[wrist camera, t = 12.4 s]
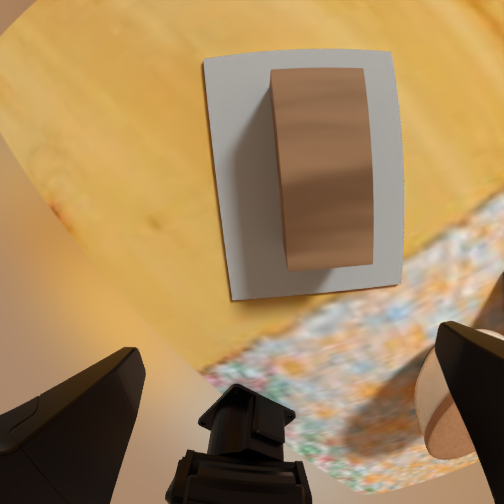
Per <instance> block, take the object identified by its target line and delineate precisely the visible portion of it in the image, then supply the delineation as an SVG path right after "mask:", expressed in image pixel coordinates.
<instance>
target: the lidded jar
mask: <svg viewBox="0 0 504 504" xmlns="http://www.w3.org/2000/svg"><path fill="white" fill-rule="evenodd" d="M475 330H478V331H481V332H483V333H486V334H489V335H491V336H494V337H497V338H499V339H502V340H504V336H503V335H501V334H499V333H497V332H494V331H491V330H486V329H475ZM414 404H415V411H416V416H417V420H418V424H419V427H420V429H421V432H422V434H423V437H424V441H425V445H426V448H427V450H428V452H429V454H430V455H432V456H433V457H435V458H437V459H443V460H449V459H455V458H459V457H462V456H465V455H468V454H470V453H472V452H475V451H476V450H475V448H474V445H473V443H472V440H471V438H470V436H469V433H468V431H467V429H466V426H465V424H464V422H463V420H462V417H461V415H460V413H459V411H458V409H457V407H456V404H455V402H454V400H453V398H452V396H451V394H450V391H449V389H448V386H447V384H446V381H445V378H444V375H443V372H442V370H441V367H440V364H439V362H438V359H437V357H436V354H435V347H434V348H433V349H432V350H431V351H430V352H429V354H428V355H427V357H426V359H425V361H424V363H423V366H422V369H421V371H420V373H419V376H418V379H417V383H416V387H415V399H414Z"/></svg>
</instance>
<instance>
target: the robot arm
mask: <svg viewBox="0 0 504 504" xmlns="http://www.w3.org/2000/svg"><path fill="white" fill-rule="evenodd" d="M435 354H436V357H437V359H438V362H439V364H440V367H441V370H442V372H443V375H444V378H445V381H446V384H447V386H448V389H449V391H450V394H451V396H452V398H453V400H454V402H455V404H456V407H457V409H458V411H459V413H460V415H461V417H462V420H463V422H464V424H465V426H466V429H467V431H468V433H469V436H470V438H471V440H472V443H473V445H474V448H475V450H476V453H477V455H478V458H479V460H480V463H481V465H482V467H483V470H484V473H485V476H486V479H487V481H488V484H489V487H490V490H491V493H492V496H493V498H494V502H495V504H504V340H502V339H499V338H497V337H494V336H491V335H489V334H486V333H483V332H481V331H478V330H475V329H473V328H470V327H467V326H465V325H462V324H459V323H457V322H454V321H448V322H443V323H441V324H440V325H439V328H438V333H437V337H436V342H435ZM145 375H146V372H145V367H144V364H143V361H142V358H141V355H140V352H139V350H138V349H137V348H136V347H124V348H122V349H120V350H118V351H117V352H115V353H113V354H111V355H110V356H108V357H106V358H104V359H103V360H101V361H99V362H97V363H96V364H94V365H92V366H90V367H89V368H87V369H85V370H83V371H82V372H80V373H78V374H76V375H74V376H73V377H71V378H69V379H68V380H66V381H64V382H62V383H60V384H58V385H57V386H55V387H53V388H51V389H50V390H48V391H46V392H44V393H42V394H41V395H40V396H37V397H35V398H33V399H31V400H30V401H28V402H26V403H24V404H22V405H20V406H18V407H16V408H14V409H12V410H10V411H8V412H6V413H4V414H1V415H0V504H110V501H111V498H112V494H113V491H114V487H115V484H116V481H117V478H118V474H119V471H120V468H121V464H122V461H123V458H124V455H125V452H126V449H127V446H128V442H129V439H130V436H131V433H132V430H133V427H134V424H135V421H136V417H137V413H138V408H139V404H140V400H141V394H142V390H143V386H144V381H145ZM235 389H239V390H235ZM289 415H291V416H289ZM295 417H296V414H295V412H294V411H293V410H291V409H289V408H286V407H284V406H282V405H280V404H278V403H276V402H274V401H272V400H270V399H268V398H266V397H264V396H262V395H260V394H258V393H256V392H254V391H252V390H250V389H248V388H246V387H244V386H242V385H240V384H233V385H232V386H231V387H230V388H229V389H228V390H227V391H226V392H225V393H224V394H223V395H222V396H221V397H220V398H219V399H218V400H217V401H216V402H215V403H214V404H213V405H212V406H211V407H210V408H209V409H208V410H207V411H206V412H205V413H204V414H203V415H202V416H201V417H200V418H199V420H198V424H199V425H200V426H202V427H204V428H206V429H208V430H210V431H211V434H210V440H209V446H208V451H207V454H205V453H198V452H195V451H193V450H187V452H186V455H185V457H183V458H182V460H179V462H178V466H177V470H176V474H175V477H174V479H173V481H172V483H171V485H170V486H169V488H168V490H167V492H166V495H165V500H166V501H167V502H168V503H169V504H312V495H311V491H310V488H309V484H308V480H307V476H306V473H305V469H304V465H303V462H302V461H295V462H284V455H283V443H285V430H284V427H285V426H286V425H288V424H289V423H290V422H291V421H293V420H294V419H295Z"/></svg>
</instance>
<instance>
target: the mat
mask: <svg viewBox="0 0 504 504" xmlns="http://www.w3.org/2000/svg"><path fill="white" fill-rule="evenodd" d="M203 62H204V72H205V82H206V92H207V102H208V111H209V120H210V129H211V138H212V147H213V155H214V164H215V172H216V180H217V189H218V197H219V205H220V212H221V220H222V228H223V235H224V243H225V250H226V258H227V265H228V272H229V279H230V286H231V293H232V300H245V299H258V298H271V297H283V296H294V295H305V294H315V293H325V292H335V291H345V290H354V289H363V288H371V287H380V286H388V285H396V284H401V279H402V264H403V245H404V166H403V147H402V132H401V121H400V110H399V101H398V93H397V85H396V78H395V71H394V65H393V59H392V53H391V52H388V51H375V50H357V49H295V50H276V51H263V52H252V53H243V54H235V55H227V56H220V57H213V58H207V59H203ZM289 68H363V69H364V77H365V84H366V93H367V102H368V112H369V122H370V135H371V149H372V167H373V197H374V247H373V264H372V265H361V266H351V267H340V268H328V269H317V270H305V271H293V272H288V268H287V263H286V257H285V252H284V246H283V234H282V220H281V207H280V195H279V183H278V171H277V160H276V149H275V139H274V128H273V118H272V108H271V99H270V89H269V83H270V71H271V70H272V69H289Z"/></svg>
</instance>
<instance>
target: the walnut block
mask: <svg viewBox="0 0 504 504" xmlns="http://www.w3.org/2000/svg"><path fill="white" fill-rule="evenodd" d="M269 89H270V99H271V108H272V118H273V128H274V139H275V149H276V160H277V171H278V183H279V195H280V207H281V220H282V234H283V246H284V252H285V257H286V263H287V268H288V272H293V271H305V270H317V269H328V268H340V267H351V266H361V265H372V264H373V247H374V197H373V167H372V149H371V135H370V122H369V112H368V102H367V93H366V84H365V77H364V69H363V68H289V69H272V70H271V71H270V83H269Z"/></svg>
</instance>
